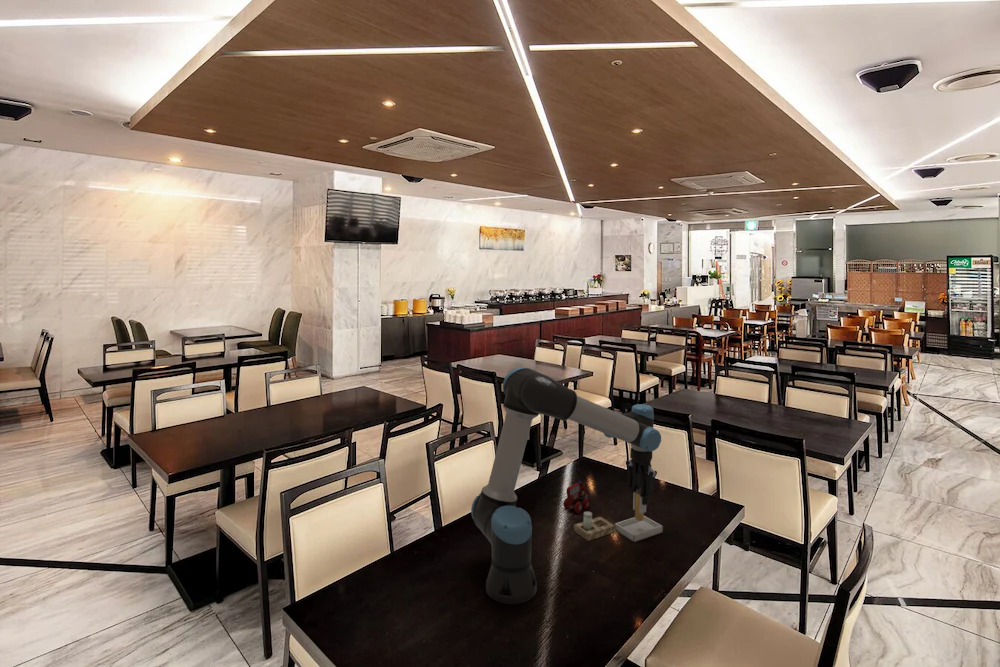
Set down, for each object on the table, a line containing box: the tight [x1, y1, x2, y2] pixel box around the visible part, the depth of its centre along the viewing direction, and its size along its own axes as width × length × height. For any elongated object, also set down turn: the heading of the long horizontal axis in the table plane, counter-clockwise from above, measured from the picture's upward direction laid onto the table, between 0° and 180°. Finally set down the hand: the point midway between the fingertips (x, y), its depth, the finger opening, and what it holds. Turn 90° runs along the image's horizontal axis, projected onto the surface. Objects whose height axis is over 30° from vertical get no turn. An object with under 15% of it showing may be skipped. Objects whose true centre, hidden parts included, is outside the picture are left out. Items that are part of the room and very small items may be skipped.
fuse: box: [583, 511, 593, 531], centre depth 186 cm, size 3×3×8 cm
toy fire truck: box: [563, 480, 591, 514], centre depth 206 cm, size 7×12×10 cm, turn 135°
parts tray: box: [614, 515, 664, 543], centre depth 188 cm, size 14×10×2 cm
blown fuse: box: [634, 487, 645, 521], centre depth 187 cm, size 3×3×11 cm
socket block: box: [573, 516, 616, 542], centre depth 188 cm, size 12×8×2 cm, turn 120°
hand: (639, 510), depth 188 cm, fingers closed on blown fuse, 2 cm apart
